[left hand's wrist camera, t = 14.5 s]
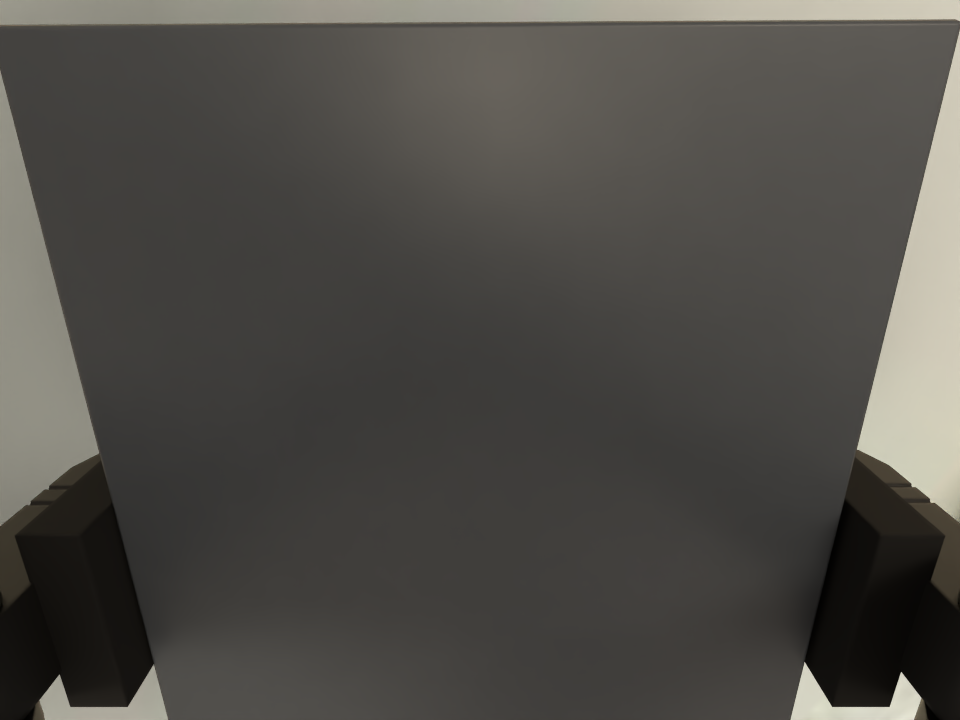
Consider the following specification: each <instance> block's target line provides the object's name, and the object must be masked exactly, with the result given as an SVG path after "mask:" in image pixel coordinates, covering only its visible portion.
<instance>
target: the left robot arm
mask: <svg viewBox="0 0 960 720" xmlns="http://www.w3.org/2000/svg"><path fill="white" fill-rule="evenodd" d="M805 663H806V665H807V666H808V668H809V669H810V671H811V673H812V674H813V676H814V678H815V679H816V681H817V683H818V684H819V686H820V687H821V689H822V691H823V692H824V694H825V696H826V697H827V699H828V701H829V702H830V704H831V705H832V707H890V704H891V701H892V698H893V695H894V692H895V688H896V685H897V682H898V679H899V676H900V673H901V672H902V673H903V674H904V676H905V677H906V678H907V680H908V681H909V682H910V683H911V685H912V686H913V687H914V689H915V690H916V691H917V692H918V694H919V695H920V696H921V698H922V699H921V702H920V705H919V707H918V710H917V713H916V716H915V719H914V720H960V523H959V522H957V521H956V520H955V519H954V518H953V517H951V516H950V515H949V514H948V513H946V512H945V511H944V510H943V509H942V508H940V507H939V506H938V505H937V504H935V503H930V499H929V498H928V497H927V496H926V495H924V494H923V493H922V492H921V491H920V490H918V489H917V488H916V487H912V486H911V483H910V482H909V481H907V480H906V479H905V478H904V477H903V476H901V475H900V474H899V473H898V472H896V471H895V470H894V469H893V468H892V467H890V466H889V465H887V464H885V463H883V462H881V461H879V460H877V459H875V458H873V457H871V456H869V455H867V454H865V453H863V452H861V451H859V450H856V454H855V458H854V462H853V466H852V470H851V474H850V478H849V483H848V487H847V491H846V495H845V499H844V503H843V507H842V511H841V515H840V519H839V523H838V527H837V531H836V535H835V540H834V544H833V548H832V552H831V556H830V560H829V564H828V568H827V572H826V576H825V580H824V584H823V588H822V592H821V597H820V601H819V605H818V609H817V613H816V617H815V621H814V625H813V629H812V633H811V637H810V641H809V645H808V649H807V654H806V658H805ZM153 664H154V662H153V658H152V654H151V650H150V646H149V643H148V639H147V635H146V631H145V627H144V623H143V619H142V616H141V612H140V608H139V604H138V600H137V596H136V592H135V588H134V585H133V581H132V577H131V573H130V569H129V565H128V561H127V558H126V554H125V550H124V546H123V542H122V538H121V534H120V530H119V527H118V523H117V519H116V515H115V511H114V507H113V503H112V499H111V496H110V492H109V488H108V484H107V480H106V476H105V472H104V469H103V465H102V461H101V457H100V453H99V454H98V455H96V456H94V457H92V458H90V459H88V460H86V461H84V462H82V463H80V464H78V465H76V466H74V467H72V468H70V469H69V470H68V471H67V472H66V473H64V474H63V475H62V476H61V477H60V478H58V479H57V480H56V481H55V482H54V483H52V484H51V485H50V486H49V490H44V491H43V492H41V493H40V494H39V495H38V496H37V497H35V498H34V499H33V500H32V501H31V504H30V505H26V506H25V507H23V508H22V509H21V510H20V511H18V512H17V513H16V514H15V515H14V516H12V517H11V518H10V519H9V520H8V521H6V522H5V523H4V524H3V525H2V526H0V720H45V719H44V713H43V710H42V707H41V705H40V702H39V700H40V699H41V697H42V696H43V695H44V693H45V692H46V691H47V690H48V688H49V687H50V686H51V684H52V683H53V682H54V680H55V679H56V678H57V677H58V675H59V674H60V676H61V679H62V682H63V685H64V689H65V692H66V695H67V698H68V701H69V704H70V707H128V705H129V704H130V702H131V701H132V699H133V697H134V696H135V694H136V692H137V691H138V689H139V687H140V686H141V684H142V683H143V681H144V679H145V678H146V676H147V674H148V673H149V671H150V669H151V668H152V666H153Z"/></svg>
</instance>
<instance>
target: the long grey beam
mask: <svg viewBox="0 0 960 720" xmlns="http://www.w3.org/2000/svg"><path fill="white" fill-rule="evenodd" d="M959 31H960V21H957V20H955V19H945V20H771V21H597V22H424V23H250V24H76V25H0V70H1V74H2V78H3V82H4V86H5V89H6V93H7V97H8V101H9V105H10V109H11V113H12V117H13V120H14V124H15V128H16V132H17V136H18V140H19V144H20V147H21V151H22V155H23V159H24V163H25V167H26V171H27V175H28V178H29V182H30V186H31V190H32V194H33V198H34V202H35V205H36V209H37V213H38V217H39V221H40V225H41V229H42V233H43V236H44V240H45V244H46V248H47V252H48V256H49V260H50V264H51V267H52V271H53V275H54V279H55V283H56V287H57V291H58V294H59V298H60V302H61V306H62V310H63V314H64V318H65V322H66V325H67V329H68V333H69V337H70V341H71V345H72V349H73V352H74V356H75V360H76V364H77V368H78V372H79V376H80V380H81V383H82V387H83V391H84V395H85V399H86V403H87V407H88V411H89V414H90V418H91V422H92V426H93V430H94V434H95V438H96V441H97V445H98V449H99V453H100V457H101V461H102V465H103V469H104V472H105V476H106V480H107V484H108V488H109V492H110V496H111V499H112V503H113V507H114V511H115V515H116V519H117V523H118V527H119V530H120V534H121V538H122V542H123V546H124V550H125V554H126V558H127V561H128V565H129V569H130V573H131V577H132V581H133V585H134V588H135V592H136V596H137V600H138V604H139V608H140V612H141V616H142V619H143V623H144V627H145V631H146V635H147V639H148V643H149V646H150V650H151V654H152V658H153V662H154V666H155V670H156V674H157V677H158V681H159V685H160V689H161V693H162V697H163V701H164V704H165V708H166V712H167V716H168V720H790V719H791V715H792V711H793V707H794V702H795V698H796V694H797V690H798V686H799V682H800V678H801V674H802V670H803V666H804V662H805V658H806V654H807V649H808V645H809V641H810V637H811V633H812V629H813V625H814V621H815V617H816V613H817V609H818V605H819V601H820V597H821V592H822V588H823V584H824V580H825V576H826V572H827V568H828V564H829V560H830V556H831V552H832V548H833V544H834V540H835V535H836V531H837V527H838V523H839V519H840V515H841V511H842V507H843V503H844V499H845V495H846V491H847V487H848V483H849V478H850V474H851V470H852V466H853V462H854V458H855V454H856V450H857V446H858V442H859V438H860V434H861V430H862V426H863V421H864V417H865V413H866V409H867V405H868V401H869V397H870V393H871V389H872V385H873V381H874V377H875V373H876V369H877V364H878V360H879V356H880V352H881V348H882V344H883V340H884V336H885V332H886V328H887V324H888V320H889V316H890V312H891V307H892V303H893V299H894V295H895V291H896V287H897V283H898V279H899V275H900V271H901V267H902V263H903V259H904V255H905V250H906V246H907V242H908V238H909V234H910V230H911V226H912V222H913V218H914V214H915V210H916V206H917V202H918V197H919V193H920V189H921V185H922V181H923V177H924V173H925V169H926V165H927V161H928V157H929V153H930V149H931V145H932V140H933V136H934V132H935V128H936V124H937V120H938V116H939V112H940V108H941V104H942V100H943V96H944V92H945V88H946V83H947V79H948V75H949V71H950V67H951V63H952V59H953V55H954V51H955V47H956V43H957V39H958V35H959Z"/></svg>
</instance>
